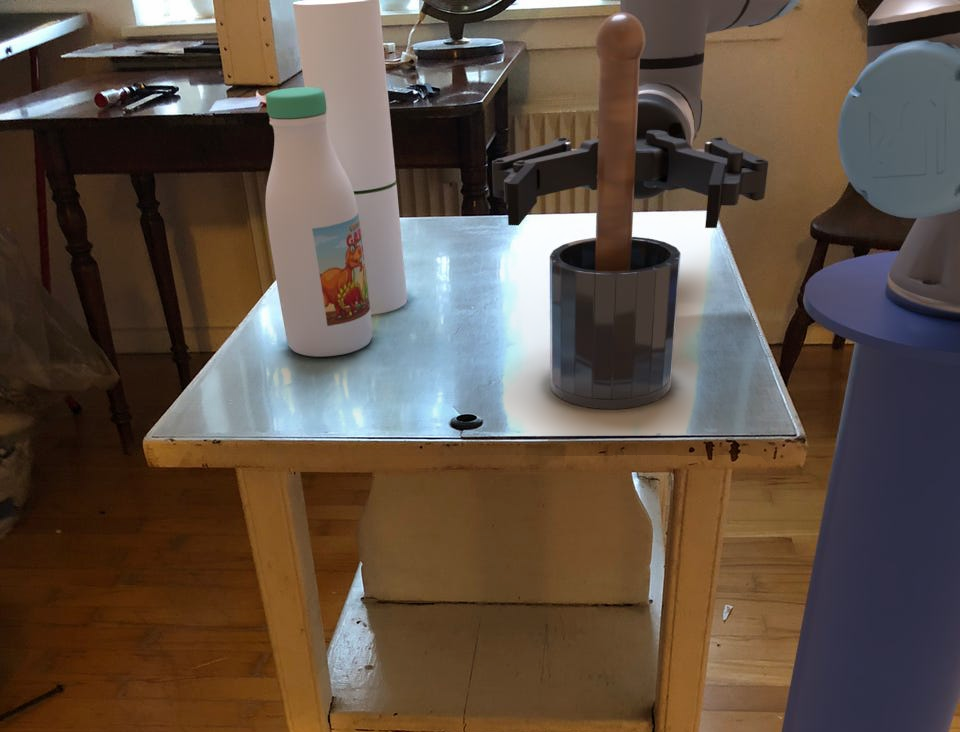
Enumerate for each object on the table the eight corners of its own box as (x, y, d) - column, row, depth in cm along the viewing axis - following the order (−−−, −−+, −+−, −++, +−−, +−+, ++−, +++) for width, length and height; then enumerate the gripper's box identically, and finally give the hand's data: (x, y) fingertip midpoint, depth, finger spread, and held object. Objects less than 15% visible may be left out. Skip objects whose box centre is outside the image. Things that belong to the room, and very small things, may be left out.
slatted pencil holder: (675, 364, 80) (685, 237, 74) (664, 412, 73) (673, 275, 66) (562, 359, 82) (562, 235, 76) (540, 405, 75) (538, 272, 69)
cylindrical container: (381, 286, 100) (350, -5, 85) (421, 302, 95) (395, -3, 80) (321, 302, 97) (277, 3, 81) (359, 320, 92) (320, 5, 77)
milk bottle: (299, 365, 84) (255, 102, 71) (279, 337, 89) (235, 89, 77) (384, 349, 86) (356, 91, 74) (360, 322, 91) (329, 79, 79)
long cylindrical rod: (646, 363, 78) (666, 7, 64) (638, 389, 74) (658, 15, 60) (582, 360, 79) (587, 9, 65) (570, 385, 75) (574, 18, 61)
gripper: (792, 190, 82) (793, 266, 66) (503, 189, 87) (438, 259, 71) (806, 89, 77) (810, 143, 61) (500, 94, 83) (430, 145, 67)
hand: (610, 205), depth 66 cm, fingers open, 13 cm apart
